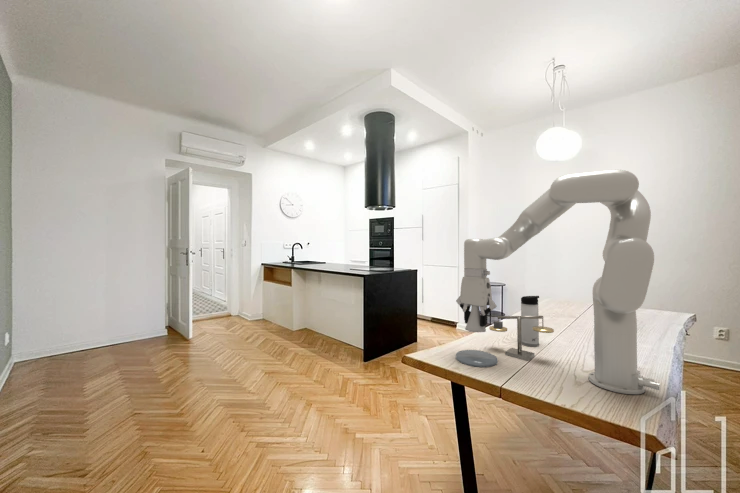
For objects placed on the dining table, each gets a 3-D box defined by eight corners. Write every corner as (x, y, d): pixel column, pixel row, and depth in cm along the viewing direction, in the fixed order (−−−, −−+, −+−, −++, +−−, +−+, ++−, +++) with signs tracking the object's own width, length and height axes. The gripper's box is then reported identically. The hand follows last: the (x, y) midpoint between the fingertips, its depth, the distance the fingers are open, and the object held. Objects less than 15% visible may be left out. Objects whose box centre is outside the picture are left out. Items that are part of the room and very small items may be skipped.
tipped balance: (556, 361, 103) (556, 315, 103) (550, 366, 99) (549, 318, 99) (494, 346, 119) (493, 306, 119) (486, 350, 115) (486, 309, 115)
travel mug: (538, 348, 117) (537, 297, 117) (520, 345, 121) (519, 295, 121) (540, 343, 122) (540, 295, 122) (523, 341, 126) (522, 293, 126)
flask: (483, 327, 109) (482, 300, 109) (488, 333, 102) (488, 304, 102) (462, 327, 110) (462, 300, 110) (467, 332, 103) (467, 304, 103)
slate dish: (504, 359, 105) (504, 356, 105) (485, 370, 96) (485, 367, 96) (468, 349, 116) (468, 347, 116) (448, 359, 106) (448, 356, 106)
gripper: (503, 274, 102) (504, 327, 102) (459, 271, 115) (459, 318, 115) (493, 275, 97) (494, 331, 97) (448, 272, 110) (448, 321, 110)
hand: (475, 323), depth 106 cm, fingers closed on flask, 5 cm apart
